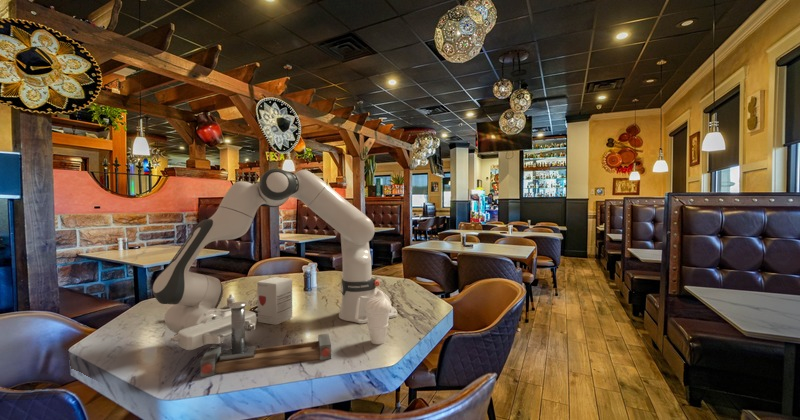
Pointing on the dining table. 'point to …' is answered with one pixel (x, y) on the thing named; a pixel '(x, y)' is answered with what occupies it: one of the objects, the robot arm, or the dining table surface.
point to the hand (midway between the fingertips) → (238, 333)
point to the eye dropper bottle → (230, 300)
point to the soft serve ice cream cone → (377, 317)
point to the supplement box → (274, 300)
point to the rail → (267, 356)
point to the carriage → (238, 335)
